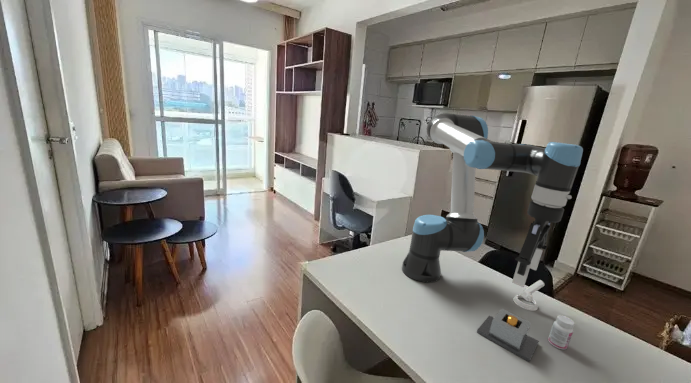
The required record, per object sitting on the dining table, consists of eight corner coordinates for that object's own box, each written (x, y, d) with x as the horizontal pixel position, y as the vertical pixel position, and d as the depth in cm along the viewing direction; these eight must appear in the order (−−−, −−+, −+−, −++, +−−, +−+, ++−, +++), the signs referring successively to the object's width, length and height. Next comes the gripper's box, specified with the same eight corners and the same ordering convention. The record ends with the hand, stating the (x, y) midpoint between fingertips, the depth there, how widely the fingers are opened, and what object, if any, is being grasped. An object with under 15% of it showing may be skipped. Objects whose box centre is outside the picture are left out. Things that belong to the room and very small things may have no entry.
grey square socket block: (488, 333, 86) (492, 319, 85) (497, 322, 92) (501, 308, 90) (518, 350, 81) (523, 335, 79) (526, 337, 86) (531, 322, 85)
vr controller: (561, 300, 100) (551, 291, 97) (530, 319, 104) (520, 311, 101) (546, 283, 106) (536, 275, 104) (518, 302, 110) (508, 294, 108)
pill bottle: (567, 352, 83) (577, 328, 81) (548, 344, 86) (556, 320, 83) (566, 342, 87) (575, 318, 85) (547, 335, 90) (555, 311, 87)
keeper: (476, 332, 88) (482, 312, 86) (488, 318, 95) (493, 299, 93) (529, 362, 78) (536, 340, 77) (537, 343, 86) (544, 323, 84)
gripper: (555, 217, 64) (528, 300, 70) (572, 200, 82) (549, 267, 88) (517, 207, 69) (495, 285, 75) (541, 193, 87) (522, 257, 93)
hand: (524, 275), depth 81 cm, fingers open, 13 cm apart
